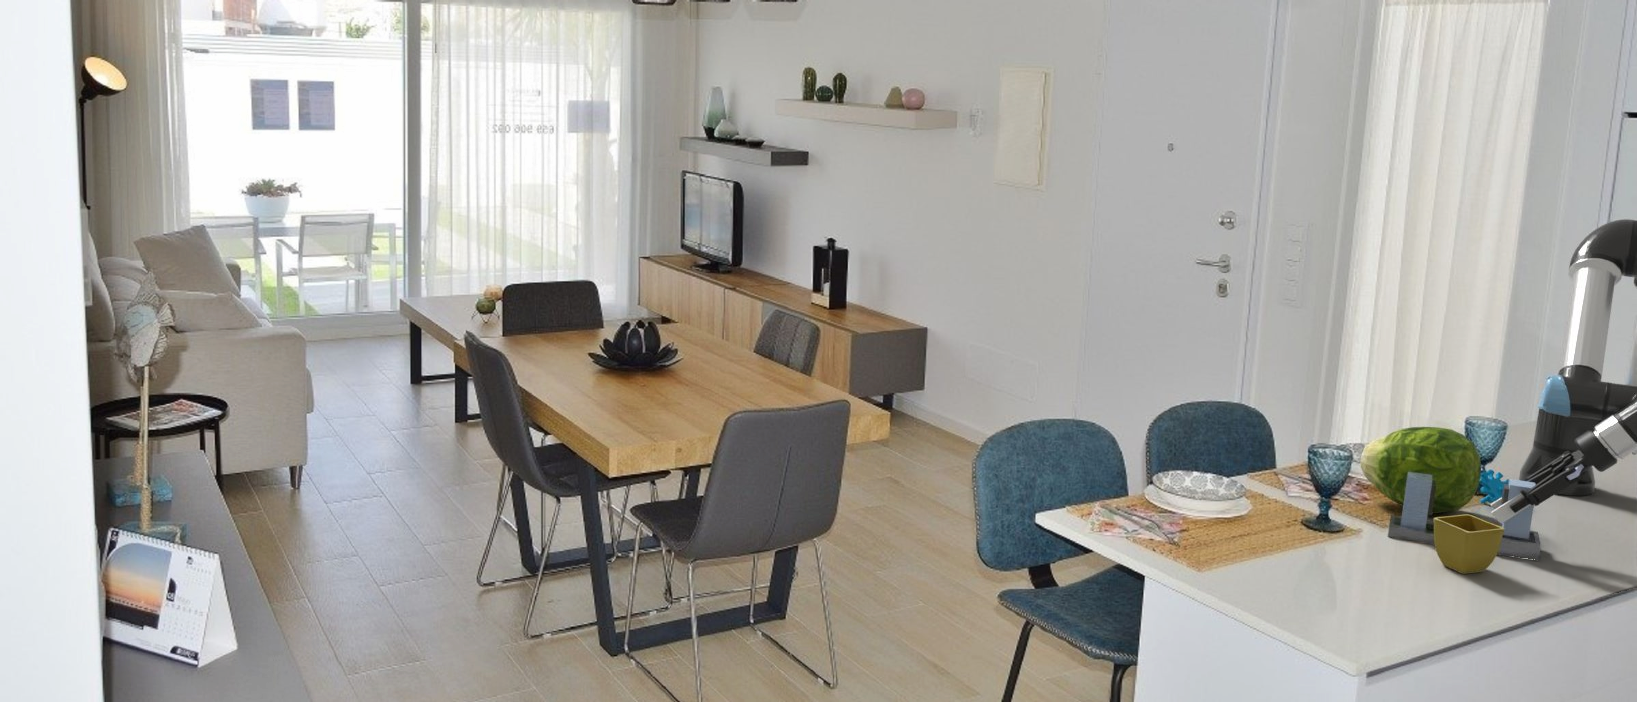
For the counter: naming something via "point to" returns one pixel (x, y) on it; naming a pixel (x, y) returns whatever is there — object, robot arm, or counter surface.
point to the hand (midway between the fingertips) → (1495, 513)
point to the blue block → (1522, 520)
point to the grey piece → (1421, 530)
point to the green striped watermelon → (1424, 464)
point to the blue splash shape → (1492, 486)
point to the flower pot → (1466, 542)
